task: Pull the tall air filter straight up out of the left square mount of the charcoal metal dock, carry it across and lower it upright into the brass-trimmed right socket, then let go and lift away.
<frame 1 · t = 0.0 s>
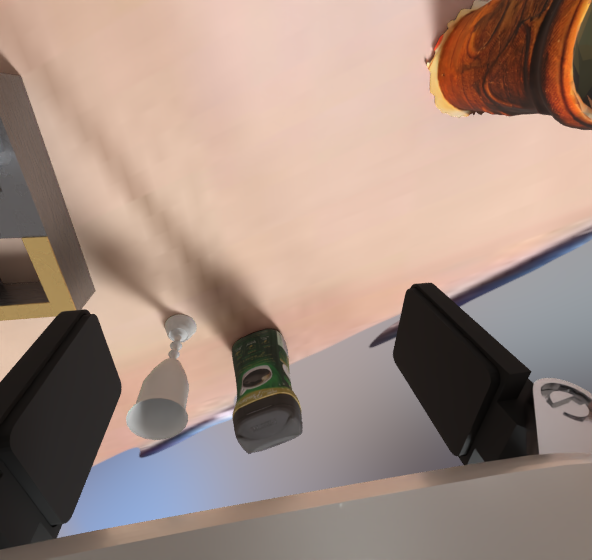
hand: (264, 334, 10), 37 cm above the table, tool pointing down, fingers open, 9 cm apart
chalice: (181, 326, 52), on the table
dock: (2, 202, 39), on the table
vessel: (476, 60, 41), on the table
coffee jar: (260, 345, 57), on the table
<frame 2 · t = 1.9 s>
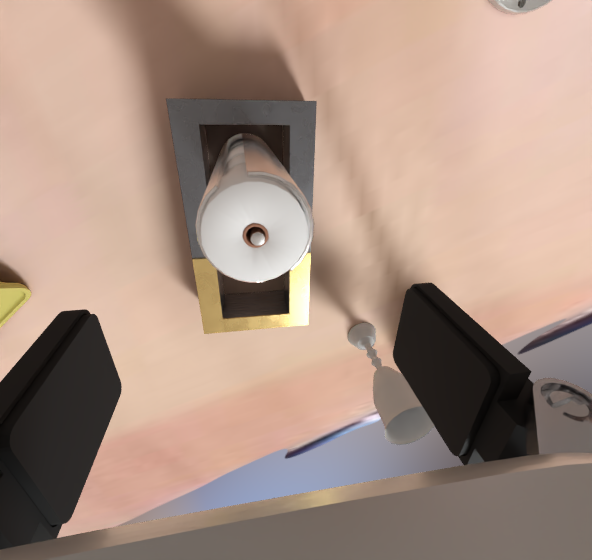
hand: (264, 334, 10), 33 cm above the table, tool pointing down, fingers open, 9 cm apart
chalice: (361, 333, 54), on the table
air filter: (246, 162, 38), resting in dock
dock: (250, 218, 41), on the table
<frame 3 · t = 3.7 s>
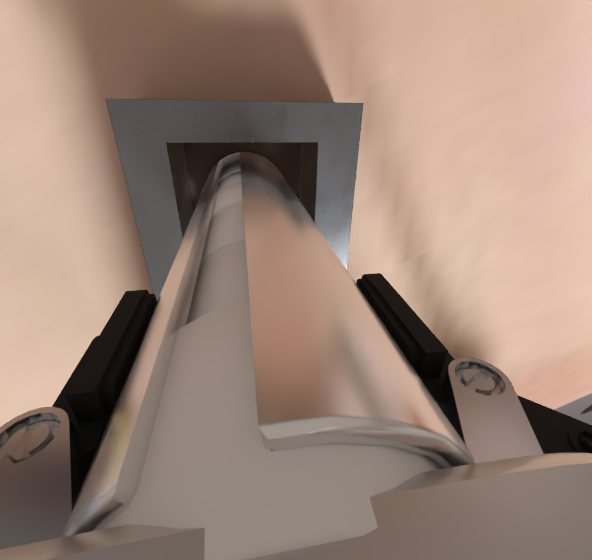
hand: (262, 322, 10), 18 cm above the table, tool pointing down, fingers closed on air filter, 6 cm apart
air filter: (246, 193, 26), resting in dock, touching gripper
dock: (251, 269, 29), on the table
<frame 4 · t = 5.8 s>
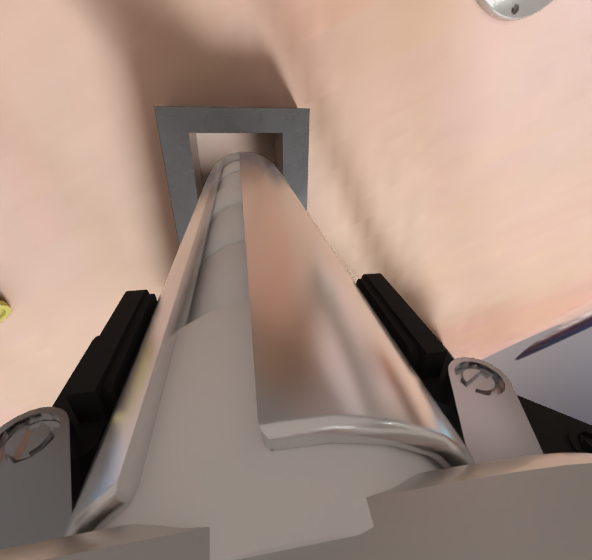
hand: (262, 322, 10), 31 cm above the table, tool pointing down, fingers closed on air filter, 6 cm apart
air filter: (246, 193, 26), point 13 cm above the table, touching gripper
dock: (243, 227, 40), on the table
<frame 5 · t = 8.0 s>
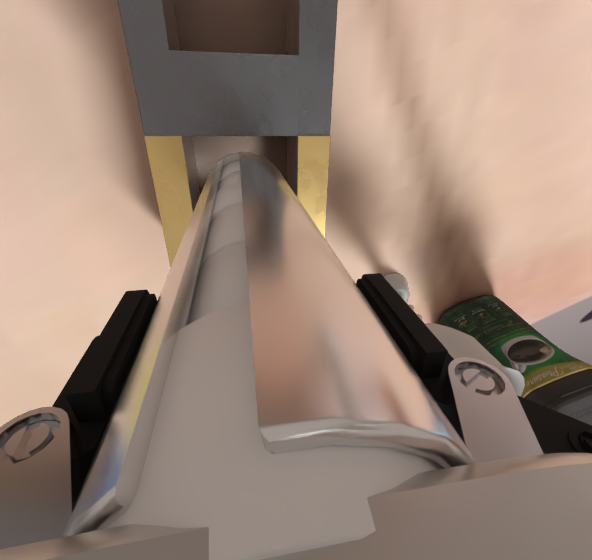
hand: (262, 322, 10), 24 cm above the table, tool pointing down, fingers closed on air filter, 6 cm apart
chalice: (389, 289, 41), on the table
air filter: (246, 193, 26), point 6 cm above the table, touching gripper
dock: (238, 98, 28), on the table
coffee jar: (465, 317, 46), on the table
when the fingers open (18 cm above the table, at t = 9.7 s): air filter stays where it is, resting in dock.
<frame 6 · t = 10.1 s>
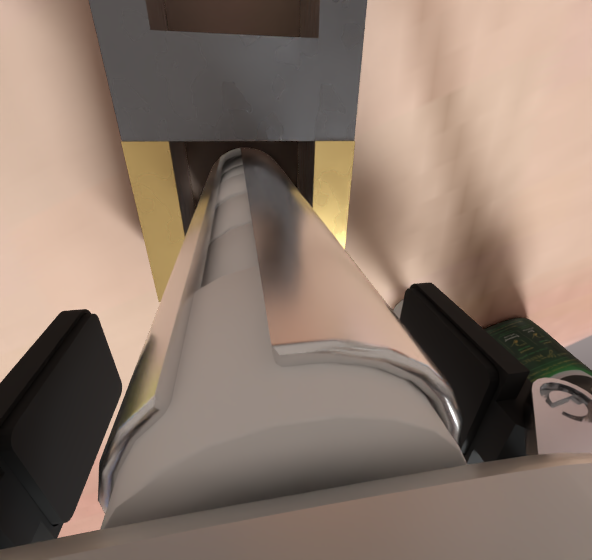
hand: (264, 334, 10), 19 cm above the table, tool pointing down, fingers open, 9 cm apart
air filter: (247, 188, 26), resting in dock
dock: (240, 94, 23), on the table
coffee jar: (493, 341, 41), on the table
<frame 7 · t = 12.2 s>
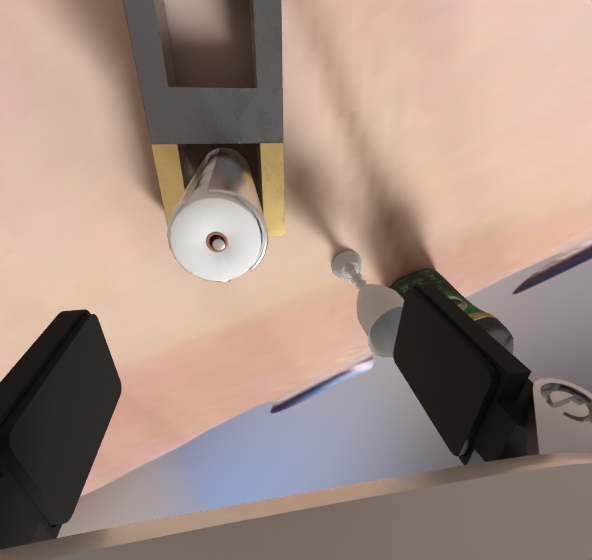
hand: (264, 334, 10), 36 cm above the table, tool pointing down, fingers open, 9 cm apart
chalice: (346, 264, 51), on the table
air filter: (225, 173, 41), resting in dock
dock: (219, 115, 38), on the table
coffee jar: (413, 289, 56), on the table
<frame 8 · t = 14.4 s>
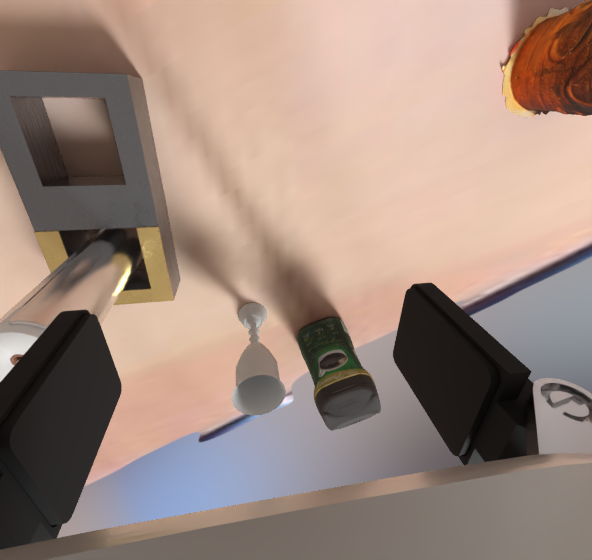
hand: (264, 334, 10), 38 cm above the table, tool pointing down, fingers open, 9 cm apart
chalice: (252, 314, 56), on the table
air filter: (123, 242, 46), resting in dock
dock: (109, 195, 42), on the table
vessel: (546, 64, 44), on the table
coffee jar: (321, 333, 60), on the table
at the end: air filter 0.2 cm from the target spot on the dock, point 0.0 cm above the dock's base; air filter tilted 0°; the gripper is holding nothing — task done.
